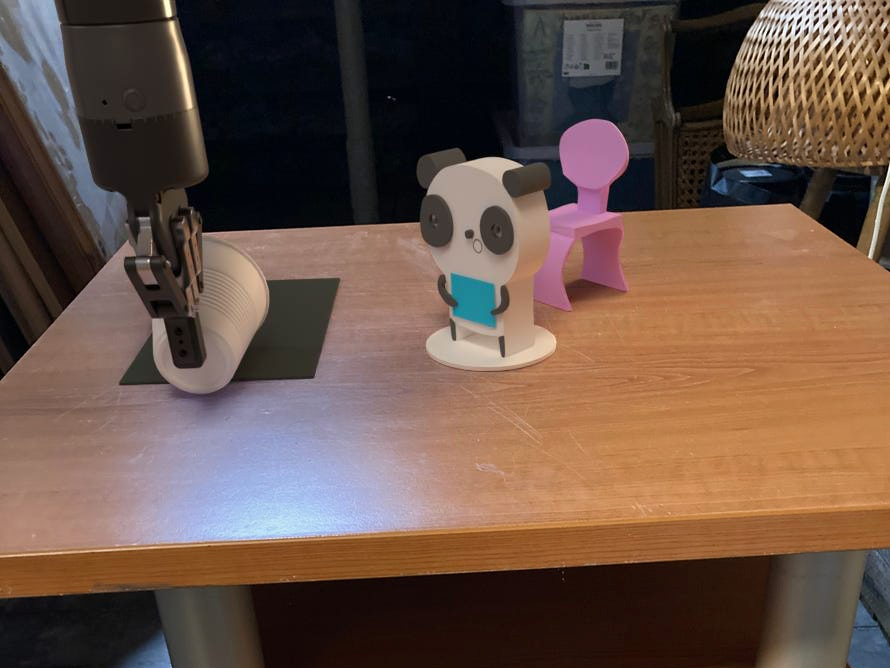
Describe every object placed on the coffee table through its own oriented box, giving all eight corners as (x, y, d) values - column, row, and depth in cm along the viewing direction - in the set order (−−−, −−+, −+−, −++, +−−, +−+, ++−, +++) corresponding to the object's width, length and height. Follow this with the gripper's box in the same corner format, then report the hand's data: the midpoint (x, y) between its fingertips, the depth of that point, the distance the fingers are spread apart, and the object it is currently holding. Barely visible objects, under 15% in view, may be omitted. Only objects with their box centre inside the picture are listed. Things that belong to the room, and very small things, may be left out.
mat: (313, 378, 82) (313, 375, 82) (119, 384, 82) (118, 382, 82) (339, 279, 103) (339, 277, 103) (184, 284, 103) (184, 282, 102)
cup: (286, 373, 78) (294, 303, 85) (192, 276, 71) (209, 210, 79) (195, 437, 81) (210, 365, 89) (98, 350, 75) (122, 280, 83)
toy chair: (512, 295, 97) (511, 125, 88) (575, 275, 102) (580, 111, 93) (573, 315, 92) (579, 137, 83) (636, 293, 97) (648, 122, 88)
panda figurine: (394, 346, 87) (379, 160, 78) (484, 313, 94) (480, 137, 84) (492, 382, 80) (488, 182, 71) (582, 343, 87) (590, 155, 78)
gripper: (106, 89, 69) (161, 336, 79) (44, 123, 58) (116, 402, 69) (214, 85, 69) (255, 332, 79) (172, 118, 58) (225, 398, 69)
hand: (191, 364), depth 74 cm, fingers closed
